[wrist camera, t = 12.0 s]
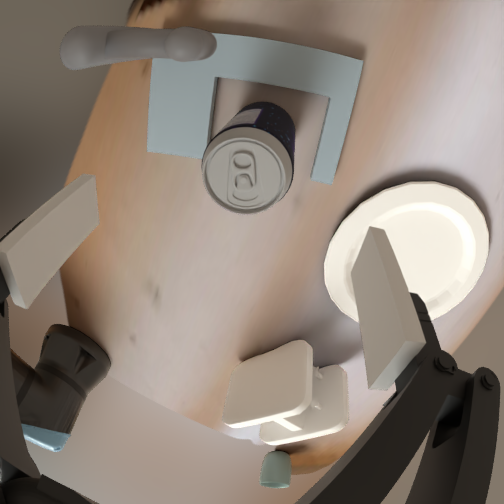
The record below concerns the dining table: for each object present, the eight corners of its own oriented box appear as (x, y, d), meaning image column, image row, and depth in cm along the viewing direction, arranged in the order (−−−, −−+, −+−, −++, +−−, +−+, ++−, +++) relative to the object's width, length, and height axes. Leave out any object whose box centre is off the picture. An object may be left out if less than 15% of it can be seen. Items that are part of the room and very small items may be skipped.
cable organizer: (311, 328, 42) (310, 404, 32) (348, 364, 46) (351, 431, 36) (232, 362, 49) (218, 426, 39) (273, 390, 53) (265, 449, 43)
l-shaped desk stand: (151, 147, 30) (49, 235, 16) (161, 31, 23) (33, 32, 9) (330, 180, 30) (352, 302, 16) (361, 60, 22) (438, 72, 9)
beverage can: (235, 159, 30) (201, 220, 20) (231, 101, 26) (190, 132, 17) (295, 159, 29) (292, 222, 19) (294, 100, 26) (292, 129, 16)
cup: (278, 446, 70) (274, 481, 62) (298, 453, 72) (295, 486, 64) (258, 451, 74) (253, 483, 66) (277, 458, 76) (274, 489, 68)
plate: (381, 341, 42) (383, 350, 41) (285, 252, 36) (284, 262, 34) (502, 264, 32) (507, 272, 30) (437, 135, 25) (443, 140, 24)
